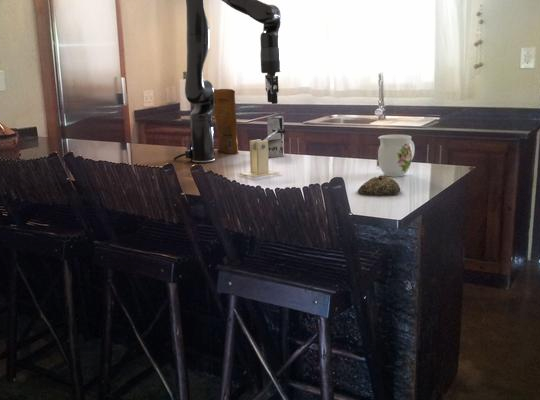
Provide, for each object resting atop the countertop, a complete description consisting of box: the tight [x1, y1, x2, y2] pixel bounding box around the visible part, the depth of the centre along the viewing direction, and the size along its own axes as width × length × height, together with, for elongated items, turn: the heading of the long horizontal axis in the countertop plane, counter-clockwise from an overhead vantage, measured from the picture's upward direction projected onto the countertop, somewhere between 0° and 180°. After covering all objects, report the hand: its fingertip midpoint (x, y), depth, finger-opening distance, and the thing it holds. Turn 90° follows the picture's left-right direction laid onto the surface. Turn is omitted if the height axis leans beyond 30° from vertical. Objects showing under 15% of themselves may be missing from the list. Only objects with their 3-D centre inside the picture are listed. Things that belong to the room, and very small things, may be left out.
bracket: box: [239, 139, 280, 178], centre depth 229 cm, size 11×9×13 cm
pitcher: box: [377, 134, 416, 178], centre depth 218 cm, size 11×18×14 cm, turn 124°
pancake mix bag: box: [213, 88, 239, 155], centre depth 281 cm, size 7×19×28 cm, turn 26°
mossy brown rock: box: [357, 175, 402, 196], centre depth 197 cm, size 13×12×5 cm
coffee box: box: [266, 115, 285, 158], centre depth 267 cm, size 9×6×16 cm
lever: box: [253, 128, 286, 150], centre depth 229 cm, size 12×6×2 cm, turn 120°
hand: (272, 102), depth 244 cm, fingers open, 8 cm apart
